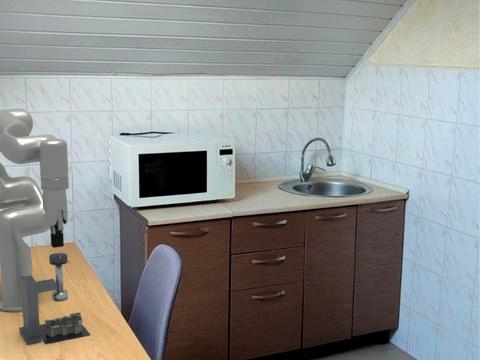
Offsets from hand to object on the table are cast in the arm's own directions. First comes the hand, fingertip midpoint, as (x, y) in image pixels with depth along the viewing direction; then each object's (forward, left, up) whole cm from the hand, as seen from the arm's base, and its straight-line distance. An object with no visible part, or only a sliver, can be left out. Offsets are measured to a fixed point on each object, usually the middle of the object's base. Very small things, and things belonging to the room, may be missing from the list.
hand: (57, 246), depth 192 cm
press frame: (0, -2, -26) cm, 26 cm away
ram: (0, 0, -16) cm, 16 cm away
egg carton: (+1, +1, -26) cm, 26 cm away
